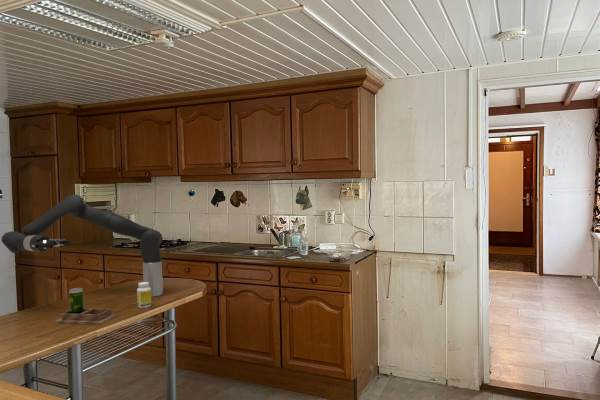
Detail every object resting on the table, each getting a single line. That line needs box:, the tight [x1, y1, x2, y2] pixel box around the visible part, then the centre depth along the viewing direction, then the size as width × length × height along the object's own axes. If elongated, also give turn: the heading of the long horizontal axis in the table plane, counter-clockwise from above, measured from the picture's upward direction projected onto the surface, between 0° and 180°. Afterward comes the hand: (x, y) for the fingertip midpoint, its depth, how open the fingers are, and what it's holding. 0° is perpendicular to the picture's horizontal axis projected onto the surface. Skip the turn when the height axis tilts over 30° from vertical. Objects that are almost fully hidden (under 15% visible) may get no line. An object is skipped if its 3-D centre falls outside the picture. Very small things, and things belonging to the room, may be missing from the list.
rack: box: [54, 307, 118, 326], centre depth 189 cm, size 21×12×4 cm, turn 81°
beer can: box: [68, 287, 85, 314], centre depth 190 cm, size 5×5×12 cm
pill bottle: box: [136, 281, 152, 309], centre depth 207 cm, size 6×6×11 cm
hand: (61, 244), depth 198 cm, fingers open, 8 cm apart
